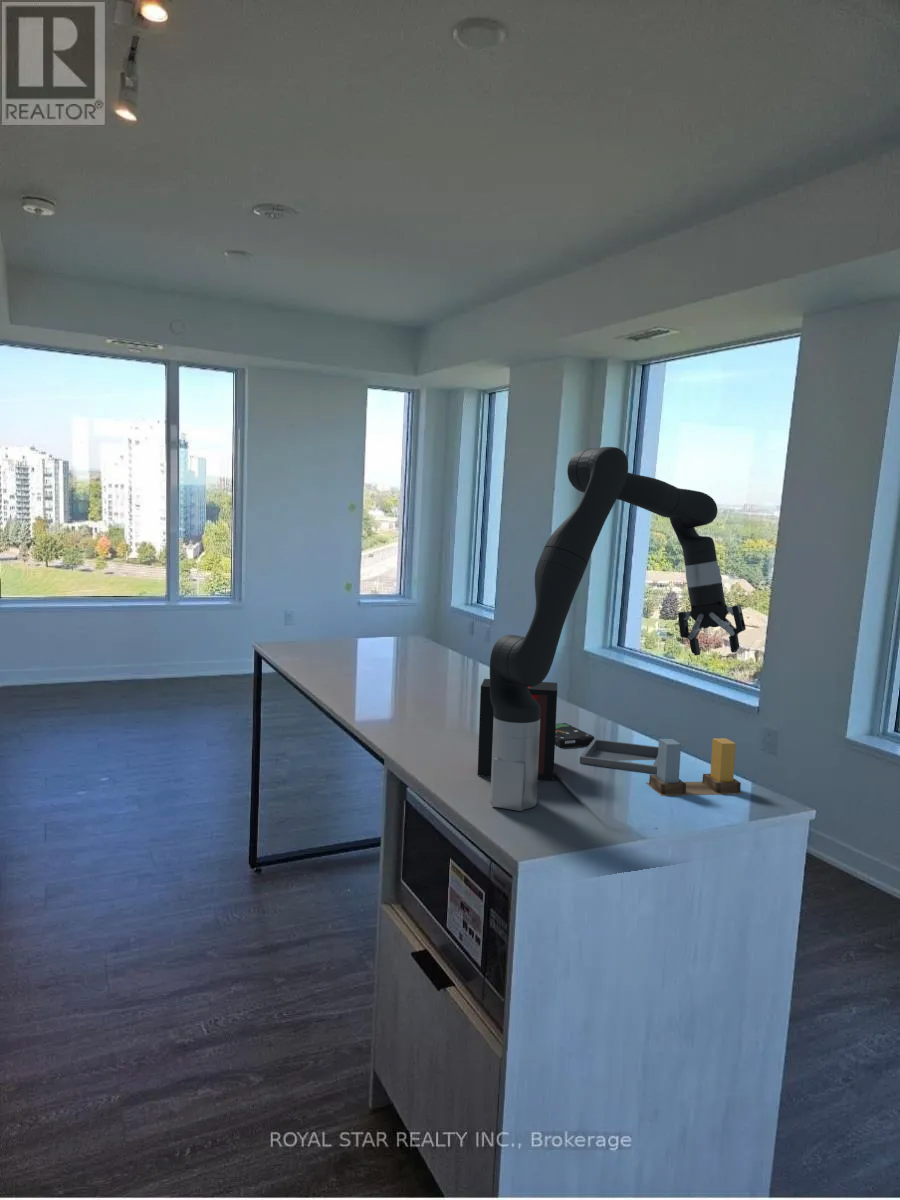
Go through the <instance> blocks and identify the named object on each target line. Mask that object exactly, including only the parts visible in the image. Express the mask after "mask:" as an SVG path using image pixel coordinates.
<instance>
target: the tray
mask: <svg viewBox="0 0 900 1200" xmlns="http://www.w3.org/2000/svg"><path fill="white" fill-rule="evenodd" d="M658 747H659V746H656V745H655V746H653V745H648V744H647V745H646V744H637V743H631V742H630V743H629V742H624V741H623V742H621V741H615V740H614V741H612V740H605V739H598V738H597V739H596V738H594V739H593V741H592V742H591V743H590V745H588V746H587V747H586V748H585V749H584V751H583V752H582V753H581V755H580V756H579V764H581V765H582V764H583V765H590V766H597V767H604V768H611V769H617V770H618V769H619V770H625V771H633V772H641V773H647V774H653V775H657V764H658ZM630 761H654V762H653V764H644V763H637V762H630Z"/></svg>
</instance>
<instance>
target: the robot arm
mask: <svg viewBox="0 0 900 1200" xmlns="http://www.w3.org/2000/svg"><path fill="white" fill-rule="evenodd" d="M566 470H567V471H566V472H567V478H568V481H569V483H570V485H571V486H572V487H573V488H574V489H575V490H577V491H578V492H581V493H582V494H583V496H582V497H581V499H580V501H579V503H578V505H577V506H576V507H575V509H574V510H573V511H572V512H571V514H570V515H569V516H567V518H566V519H564V520H563V522H562V523H560V524H559V526H558V527H557V528H556V529H555V530H554V531H553V533H552V534H551V535H550V536H549V538H548V539H547V541H546V543H545V544H544V547H543V549H542V552H541V554H540V556H539V559H538V561H537V563H536V564H537V565H536V567H535V572H534V590H535V591H534V593H535V609H534V614H533V618H532V620H531V623H530V625H529V628H528V630H527V633H526V634H525V636H522V635H521V636H520V635H515V634H506V635H503V636H502V637H500V638H499V639H497V641H496V642H495V643H494V645H493V648H492V649H491V652H490V653H491V654H490V657H489V658H490V659H489V679H490V699H491V703H492V705H493V709H494V720H493V744H492V770H491V777H490V799H489V800H490V803H491V807H494V808H500V809H506V810H512V811H519V812H523V811H524V810H528V809H532V808H534V807H536V805H537V804H538V782H539V780H538V760H539V736H540V715H541V708H540V705H539V703H538V702H537V701H536V700H535V699H534V698H533V696H532V695H531V693H530V691H529V689H528V687H534V686H537V685H538V684H540V683H541V682H544V680H545V679H546V678H547V676H548V674H549V673H550V670H551V668H552V665H553V663H554V660H555V656H556V652H557V650H558V649H557V648H558V645H559V642H560V639H561V636H562V635H561V634H562V632H563V628H564V626H565V622H566V620H567V616H568V614H569V611H570V608H571V605H572V603H573V600H574V598H575V595H576V593H577V590H578V588H579V586H580V583H581V582H582V579H583V577H584V574H585V572H586V570H587V567H588V564H589V561H590V558H591V557H592V552H593V550H594V549H595V548H594V547H595V546H596V544H597V542H598V539H599V536H600V534H601V532H602V529H603V527H604V525H605V522H606V521H607V518H608V516H609V515H610V513H611V510H612V509H613V507H614V505H615V503H616V501H617V500H619V501H622V502H625V503H628V504H630V505H633V506H635V507H638V508H640V509H644V510H646V511H648V512H650V513H654V514H655V515H658V516H661V517H663V518H668V519H669V521H670V524H671V527H672V529H673V531H674V534H675V535H676V537H677V540H678V542H679V544H680V547H681V550H682V553H683V561H684V566H685V579H686V585H687V592H688V598H689V603H690V608H691V609H690V611H686V610H682V611H680V612H678V614H677V617H678V627H679V635H680V638H682V639H688V640H689V645H690V650H691V653H692V654H693V656H694V657H695V656H696V657H697V656H700V655H701V648H700V642H699V638H697V637H698V635H699V633H700V632H701V631H702V629H708V628H718V627H720V628H721V629H722V630H724V631H725V632H727V634H728V635H729V636H728V640H729V646H730V651H731V653H737V652H738V650H740V642H739V634H740V633H742V632H744V631H745V630H746V629H747V628H746V623H745V619H744V615H743V611H742V607H741V605H740V604H735V605H732V606H728V605H727V604H726V599H725V591H724V587H723V577H722V575H721V570H720V566H719V564H718V557H717V552H716V545H715V541H714V539H713V538H712V537H710V536H704V535H699V533H698V532H697V531H696V528H698V527H702V526H707V525H709V524H711V523H712V522H714V520H715V519H716V517H717V516H718V505H717V503H716V501H715V499H714V498H713V497H712V496H710V494H707V493H705V492H703V491H698V490H693V489H687V488H678V487H676V486H675V485H672V484H670V483H668V482H665V481H664V480H661V479H658V478H654V477H651V476H645V475H641V474H640V475H639V474H635V473H632V472H629V461H628V456H627V455H626V453H625V452H624V451H623V450H622V449H621V448H618V447H615V446H602V447H591V448H590V447H589V448H585V449H582V450H579V451H578V452H575V453H574V454H573V455H572V456H571V457H570V459H569V460H568V464H567V469H566ZM728 613H729V614H730V615H731V616H733V620H734V624H735V626H734V625H733V624H732V622H731V621H730V620H729V619H728V618H727V615H728ZM690 617H691V618H692V619H693V620H694V621H695V622H694V623H693V625H692V627H691V630H690V629H689V621H690Z"/></svg>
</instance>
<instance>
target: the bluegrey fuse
mask: <svg viewBox="0 0 900 1200" xmlns="http://www.w3.org/2000/svg"><path fill="white" fill-rule="evenodd" d="M681 746H682V744H681V743H680V742H678V741H677V740H675V739H674V738H658V746H657V747H658V764H657V773H656V775H657V778H658V779H659V780H661V781H662V782H663V783H679V779H680V766H681V753H682V749H681V748H682V747H681Z"/></svg>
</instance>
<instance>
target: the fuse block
mask: <svg viewBox="0 0 900 1200" xmlns="http://www.w3.org/2000/svg"><path fill="white" fill-rule="evenodd" d="M648 780H649V781H648V782H645V784H647V785H648V786H649V787H650V788H651V789H652V790H654V791H655V792H656V793H657V794H659V795H660V796H663V797H665V796H667V797H669V796H671V797H672V796H676V797H677V796H702V795H703V796H707V795H708V796H709V795H710V796H711V795H744V792H743V791H741V788H742V787H741V785H742V784H741V781H738V779H736V778H734V777H733V782H718V781H717V780H715V779H714V778H712V777H711V776H710V773H702V781H683V780H681V779H680V778H679V783H663V782H662V781H661V780H659V779H658V778H657V774H649V779H648Z"/></svg>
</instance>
